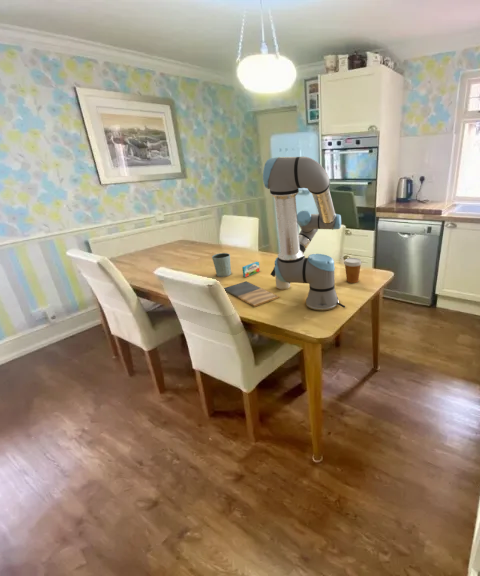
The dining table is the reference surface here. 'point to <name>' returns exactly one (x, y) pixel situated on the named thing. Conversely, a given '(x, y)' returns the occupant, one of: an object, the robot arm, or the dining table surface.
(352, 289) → the dining table surface
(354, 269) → the disposable coffee cup
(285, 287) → the can
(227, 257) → the grey cylindrical pot
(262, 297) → the board
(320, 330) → the dining table surface
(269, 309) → the dining table surface
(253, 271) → the colorful food box
